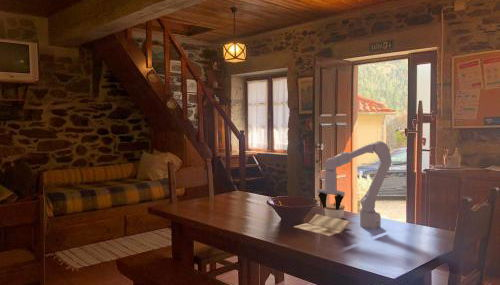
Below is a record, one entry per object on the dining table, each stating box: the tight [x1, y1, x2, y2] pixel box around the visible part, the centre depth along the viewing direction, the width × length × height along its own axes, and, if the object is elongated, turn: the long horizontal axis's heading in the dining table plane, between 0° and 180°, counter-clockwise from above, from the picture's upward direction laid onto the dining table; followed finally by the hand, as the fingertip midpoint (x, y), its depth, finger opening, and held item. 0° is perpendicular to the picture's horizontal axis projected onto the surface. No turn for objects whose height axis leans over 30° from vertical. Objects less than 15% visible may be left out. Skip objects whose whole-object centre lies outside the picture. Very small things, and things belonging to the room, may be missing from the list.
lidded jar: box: [324, 202, 345, 219], centre depth 214 cm, size 11×11×9 cm
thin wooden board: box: [293, 222, 342, 237], centre depth 191 cm, size 22×10×1 cm, turn 42°
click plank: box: [307, 213, 350, 232], centre depth 197 cm, size 20×8×1 cm, turn 42°
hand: (330, 208), depth 200 cm, fingers open, 7 cm apart
